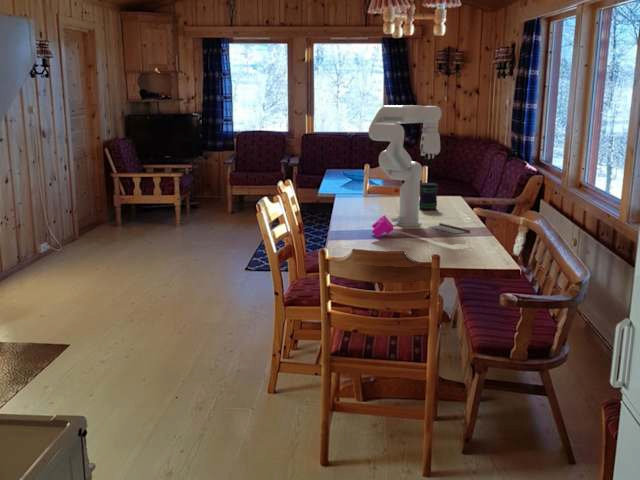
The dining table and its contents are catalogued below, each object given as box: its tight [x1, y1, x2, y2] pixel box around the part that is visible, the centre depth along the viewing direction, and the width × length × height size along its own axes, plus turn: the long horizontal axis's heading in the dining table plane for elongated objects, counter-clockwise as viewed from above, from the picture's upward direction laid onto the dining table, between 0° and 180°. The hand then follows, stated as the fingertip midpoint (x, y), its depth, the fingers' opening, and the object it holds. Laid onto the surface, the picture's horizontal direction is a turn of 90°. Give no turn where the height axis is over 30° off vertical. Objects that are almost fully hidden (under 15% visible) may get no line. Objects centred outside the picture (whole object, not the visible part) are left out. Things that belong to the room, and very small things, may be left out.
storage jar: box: [419, 182, 439, 212], centre depth 359 cm, size 10×10×15 cm
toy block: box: [371, 214, 394, 238], centre depth 295 cm, size 15×6×8 cm
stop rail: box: [438, 222, 471, 234], centre depth 309 cm, size 1×20×1 cm, turn 32°
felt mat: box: [428, 224, 467, 235], centre depth 307 cm, size 7×18×1 cm, turn 32°
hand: (429, 166), depth 333 cm, fingers closed
